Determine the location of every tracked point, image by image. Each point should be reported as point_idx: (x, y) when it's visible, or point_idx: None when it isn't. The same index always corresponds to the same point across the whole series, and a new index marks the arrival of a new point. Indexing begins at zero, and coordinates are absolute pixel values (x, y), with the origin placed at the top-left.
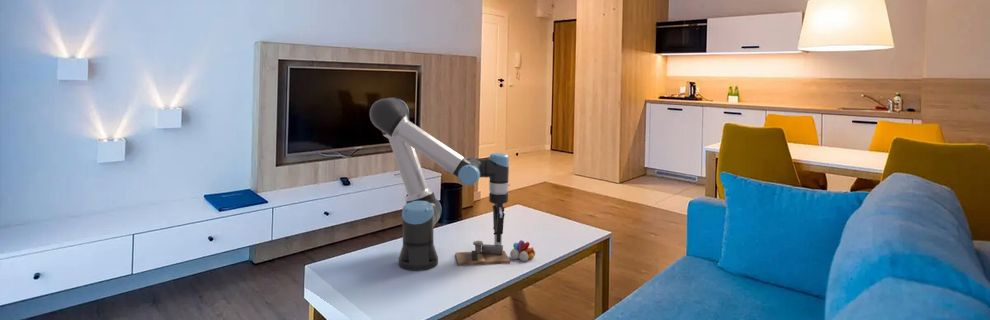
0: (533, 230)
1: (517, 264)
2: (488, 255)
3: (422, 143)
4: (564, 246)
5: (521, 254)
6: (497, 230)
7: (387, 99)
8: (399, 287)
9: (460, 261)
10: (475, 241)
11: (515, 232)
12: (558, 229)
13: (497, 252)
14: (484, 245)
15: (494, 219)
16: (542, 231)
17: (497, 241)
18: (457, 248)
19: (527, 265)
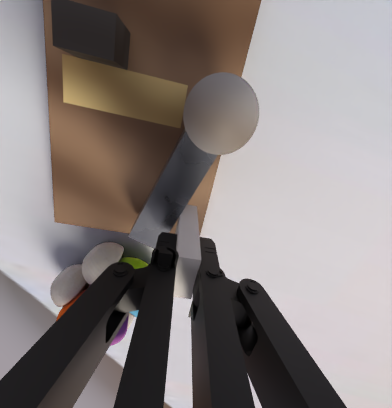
0: (362, 375)
1: (43, 238)
2: (150, 153)
3: None
4: (190, 393)
5: (57, 282)
6: (84, 294)
7: None
8: None
9: None
10: (246, 102)
11: (384, 334)
12: None
13: (144, 203)
14: (189, 153)
15: (290, 384)
16: (338, 388)
17: (158, 236)
18: (371, 29)
19: (28, 266)
